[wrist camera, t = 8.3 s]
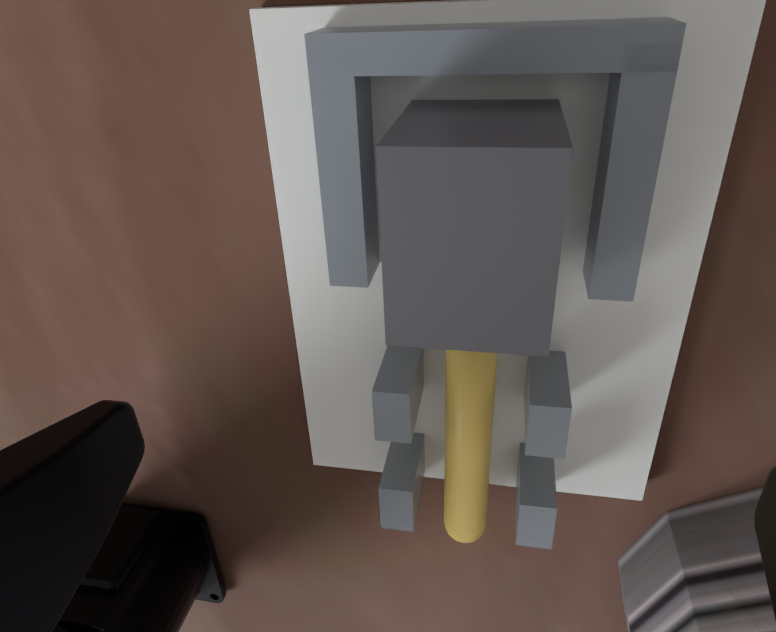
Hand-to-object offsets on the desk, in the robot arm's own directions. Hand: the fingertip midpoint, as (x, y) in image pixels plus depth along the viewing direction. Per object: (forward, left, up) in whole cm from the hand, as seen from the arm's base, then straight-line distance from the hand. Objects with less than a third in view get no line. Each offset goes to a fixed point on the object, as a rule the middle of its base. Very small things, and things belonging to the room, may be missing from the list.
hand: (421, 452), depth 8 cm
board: (-3, 0, -12) cm, 12 cm away
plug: (-5, 0, -11) cm, 12 cm away
